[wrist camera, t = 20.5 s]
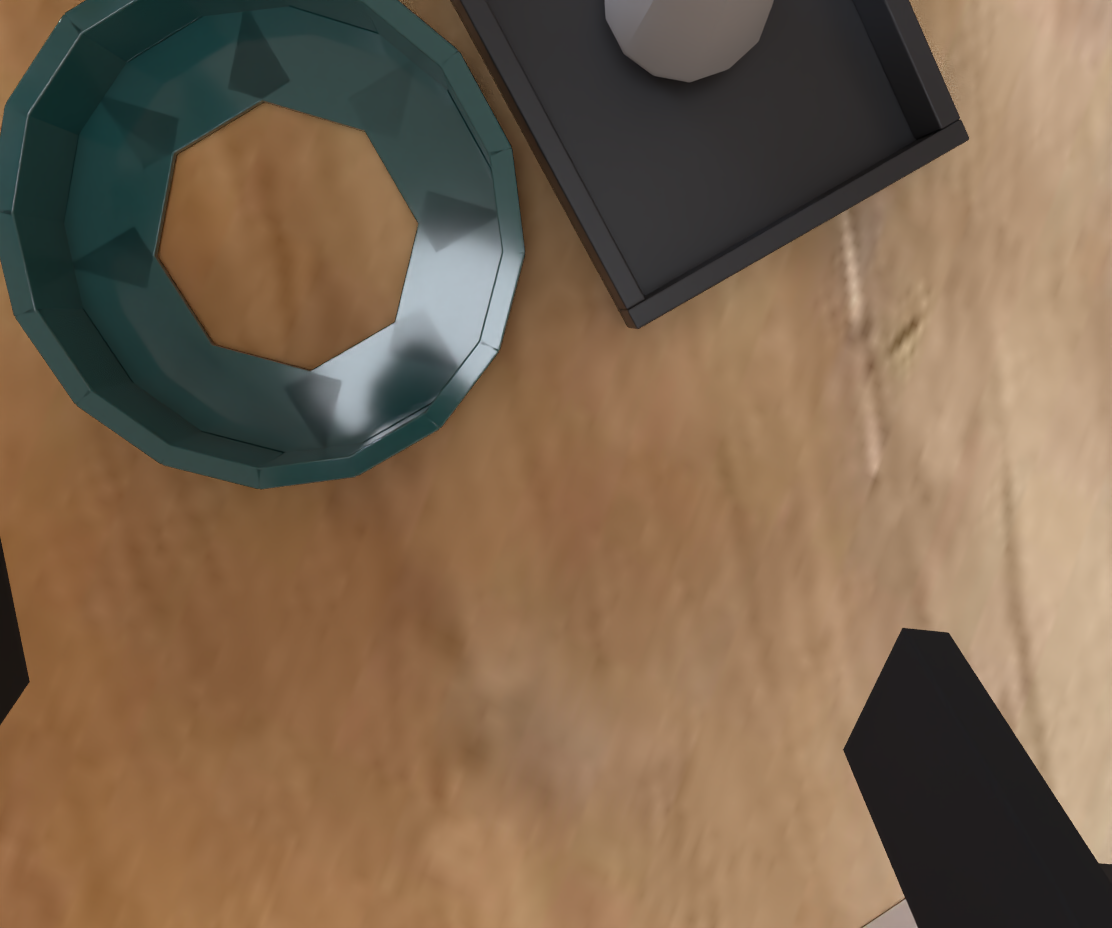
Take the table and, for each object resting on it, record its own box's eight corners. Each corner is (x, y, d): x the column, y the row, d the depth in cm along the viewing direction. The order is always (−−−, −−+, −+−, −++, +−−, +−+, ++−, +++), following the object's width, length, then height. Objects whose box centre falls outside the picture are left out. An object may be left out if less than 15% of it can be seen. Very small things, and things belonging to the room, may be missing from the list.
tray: (377, -134, 30) (365, -176, 27) (714, -341, 29) (733, -403, 27) (627, 327, 33) (637, 329, 31) (935, 152, 33) (970, 139, 30)
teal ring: (-49, 145, 31) (-119, 125, 27) (363, -107, 30) (344, -161, 27) (222, 545, 34) (190, 572, 31) (602, 328, 33) (612, 330, 30)
